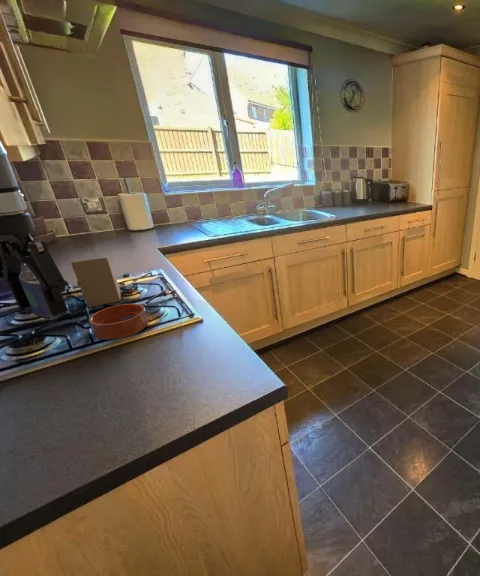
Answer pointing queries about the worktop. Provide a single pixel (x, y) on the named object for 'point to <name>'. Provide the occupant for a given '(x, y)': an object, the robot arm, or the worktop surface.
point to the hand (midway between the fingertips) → (43, 309)
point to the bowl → (118, 321)
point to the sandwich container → (97, 281)
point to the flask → (35, 295)
